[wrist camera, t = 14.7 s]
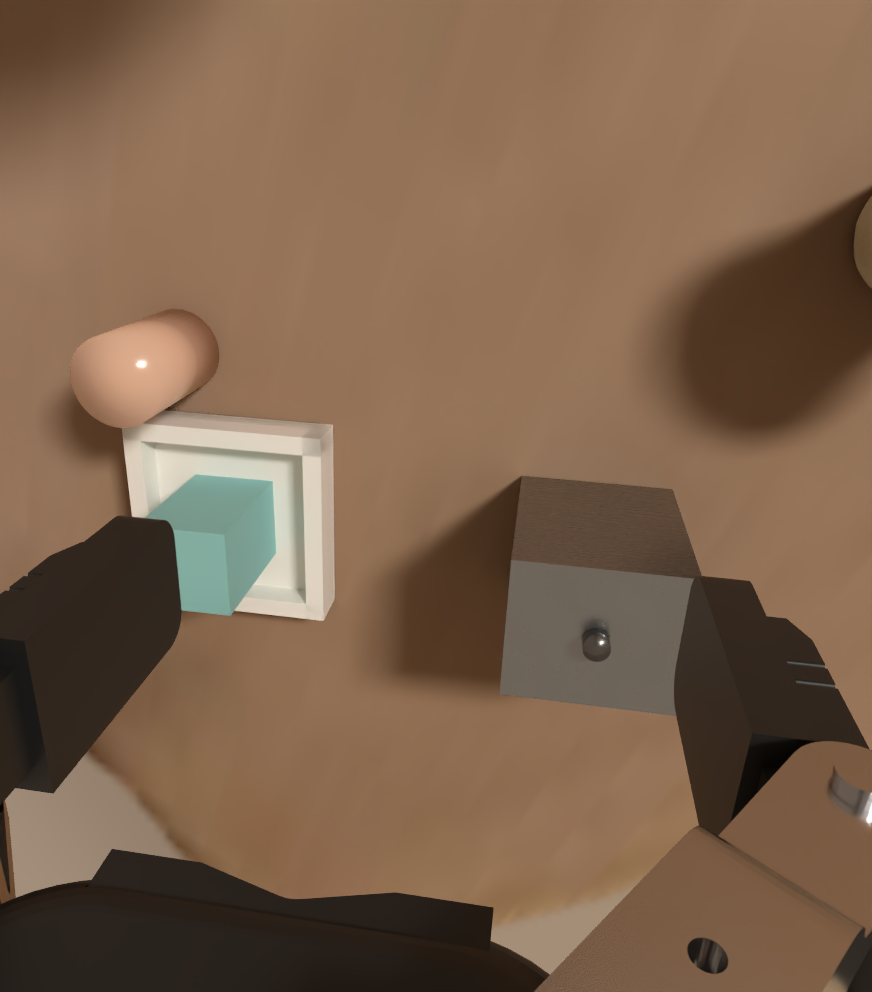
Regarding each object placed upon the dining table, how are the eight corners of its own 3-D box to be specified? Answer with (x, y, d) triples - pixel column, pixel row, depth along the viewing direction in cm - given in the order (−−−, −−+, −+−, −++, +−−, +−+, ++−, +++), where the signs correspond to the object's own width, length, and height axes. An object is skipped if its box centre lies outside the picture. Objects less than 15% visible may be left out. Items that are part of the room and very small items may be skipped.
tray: (143, 408, 45) (120, 421, 43) (332, 424, 44) (320, 439, 42) (161, 579, 49) (142, 599, 47) (334, 599, 48) (323, 620, 46)
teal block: (195, 474, 45) (135, 525, 39) (272, 481, 45) (224, 534, 38) (202, 545, 47) (145, 606, 40) (276, 553, 46) (230, 615, 40)
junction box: (521, 476, 43) (510, 568, 33) (672, 489, 42) (706, 588, 33) (511, 594, 46) (497, 712, 36) (652, 609, 45) (677, 734, 35)
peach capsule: (137, 306, 43) (63, 332, 36) (216, 311, 42) (155, 338, 36) (146, 386, 45) (76, 424, 38) (221, 392, 44) (164, 431, 38)
